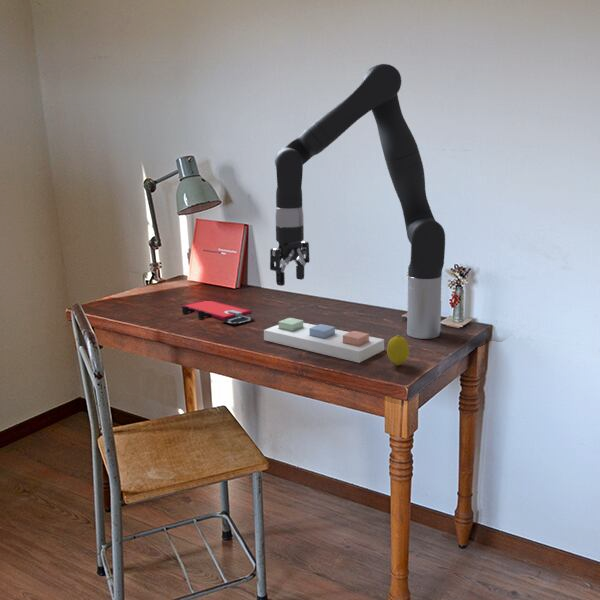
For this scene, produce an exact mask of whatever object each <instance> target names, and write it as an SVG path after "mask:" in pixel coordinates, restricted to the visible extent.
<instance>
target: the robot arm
mask: <svg viewBox="0 0 600 600" xmlns="http://www.w3.org/2000/svg"><path fill="white" fill-rule="evenodd" d="M401 86H402V76H401V73H400V72H399V70H398V69H397V68H396V67H395V66H394V65H391V64H387V63H381V64H376V65H374V66H373V67H372V66H371V67H370V68H369V69H367V71H366V72H365V73H364V75H363V79H362V82H361V83H360V84H359V86H357V87H356V89H355V90H354V91H353V92H352V93H351V94H349V95H348V96H347V97H346V98H345V99H343V100H342V101H341V102H339V104H337V105H335V106H334V107H333V108H331V109H330V110H328V111H327V112H326V113H324V114H322V115H321V116H320V117H319V118H318V119H316V120H315V121H314V122H312V124H310V125H309V126H308V127H307V128H306V129H305V130H304V131H303V132H302V133H301V134H300V135H298V136H297V137H296V138H295V139H293V140H291V142H290V141H289V143H287V144H286V145H285V146H283V147H282V148H281V149H280V150H279V151H278V152H277V153H276V155H275V158H274V165H275V169H276V170H275V171H276V184H277V185H276V191H275V200H276V201H275V204H276V205H275V206H276V207H275V209H276V210H275V240H276V242H278V248H277V247H276V248H270V251H269V252H270V253H269V254H270V255H269V256H270V257H269V259H270V260H269V270H270V271H273V272H275V279H276V280H275V282H276V284H277V286H281V287H282V286H285V278H286V277H285V269H286V268H287V266H288V265H289V263H290V262H292V261H294V262H295V264H296V266H295V271H296V272H295V275H296V279H297V280H300V281H301V280H304V279H305V266H306V265H307V263H308V264H309V263H310V244H309V241H304V238H305V237H304V232H305V231H304V230H305V229H304V223H305V222H304V211H303V210H304V209H303V190H302V189H303V188H302V187H303V185H302V183H303V171H304V168H303V166H304V164H305V163H307V162H308V161H309V160H310V159H312V158H313V157H314V156H316V155H318V154H320V153H322V152H323V151H325V150H326V149H327V148H328V147H329V146H330V145H331V144H333V143H334V142H335V141H336V140H337V139H338V138H340V136H342V135H343V133H345V132H346V131H347V130H349V128H350V127H352V126H353V125H354V124H355V123H356V122H357V121H358V120H360V119H362V118H363V117H364V116H365V115H367V113H370V112H372V115H373V117H374V120H375V123H376V126H377V132H378V136H379V141H380V144H381V145H380V146H381V150H382V152H383V156H384V157H383V158H384V161H385V164H386V166H387V170H388V171H387V172H388V173H389V177H390V179H391V182H392V185H393V188H394V190H395V191H394V192H395V193H396V195H397V198H398V200H399V203H400V207H401V210H402V213H403V219H404V225H405V231H406V235H407V236H406V237H407V239H408V242H409V243H410V262H409V265H408V270H407V274H408V275H407V318H406V319H407V320H406V334H407V336H409V337H411V338H413V339H421V340H423V339H424V340H427V339H428V340H429V339H436V338H438V337H439V336H440V334H441V326H442V325H441V323H442V321H441V319H442V277H443V275H442V274H443V268H444V264H445V254H446V253H445V251H446V233H445V229H444V227H443V226H442V224H441V223H440V222H438V221H437V220H436V219H435V217H434V215H433V213H432V209H431V206H430V204H429V201H428V197H427V193H426V192H427V191H426V178H425V169H424V165H423V161H422V157H421V154H420V153H421V152H420V150H419V147H418V144H417V141H416V139H415V136H414V135H413V133H412V131H411V129H410V127H409V125H408V123H407V121H406V120H405V118H404V115H403V111H402V109H401V104H400V100H399V96H398V95H399V94H398V93H399V91H400V89H401Z"/></svg>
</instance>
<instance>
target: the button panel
mask: <svg viewBox="0 0 600 600" xmlns="http://www.w3.org/2000/svg"><path fill="white" fill-rule="evenodd" d="M317 325H318V324H311V323H306V322H303V328H301V329H299V330H296V331H294V332H290V331H286V330H281V329H279V324H276V325H274V326H271V327H268V328H266V329H264V330H263V340H264V341H266V342H271V343H275V344H279V345H283V346H286V347H291V348H295V349H300V350H303V351H308V352H312V353H316V354H320V355H325V356H329V357H333V358H337V359H342V360H347V361H351V362H354V363H358V364H359V363H362V362H364V361H365V360H368V359H370V358H371V357H373V356H375V355H377V354H379V353H382V352H383V351H385V339H384V338H379V337H375V336H370V335H369V342H368V343H366V344H363V345H361V346H359V347H358V346H353V345H349V344H344V343H343V335H345V334H347V333H349V332H350V331H345V330H341V329H336V328H335V335H333V336H331V337H328V338H326V339H322V338H317V337H313V336H310V331H309V328H312V327H314V326H317Z"/></svg>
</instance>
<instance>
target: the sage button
mask: <svg viewBox="0 0 600 600" xmlns="http://www.w3.org/2000/svg"><path fill="white" fill-rule="evenodd" d="M303 323H304V320H303V319H297V318H294V317H287V318H285V319H282V320H279V321H278V324H277V325H279V329H281V330H286V331H290V332H294V331H296V330H299V329H301V328H303Z"/></svg>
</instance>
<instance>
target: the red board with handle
mask: <svg viewBox="0 0 600 600" xmlns="http://www.w3.org/2000/svg"><path fill="white" fill-rule="evenodd" d="M202 301H203V302H202ZM180 307H182V308H181V309H182V314H183V313H184V314H183V315H186V314H187V315H189V314H188V313H189V312H190V313H194V312H193V311H196V312H195V313H197V312H198V313H197V316H198V318H197V319H199V318H201V319H200V320H202V319H203V320H205V319H204V318H205V317H209V316H212V317H211V318H214V317H215V318H214V319H217V318H218V320H221V321H222V322H225V323H229V324H232V325H238V324H241V323H245V322H250V321H253V320H255V317H249V316H247V315H250V314H252V310H251V309H247V308H242V307H240V306H239V307H238V306H235V305H231V304H228V303H222V302H219V301H214V300H211V301H205V300H201V301H200V300H199V301H195V302H191V303H187V304H182V305H180ZM249 313H250V314H249ZM246 314H247V315H246Z"/></svg>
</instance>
